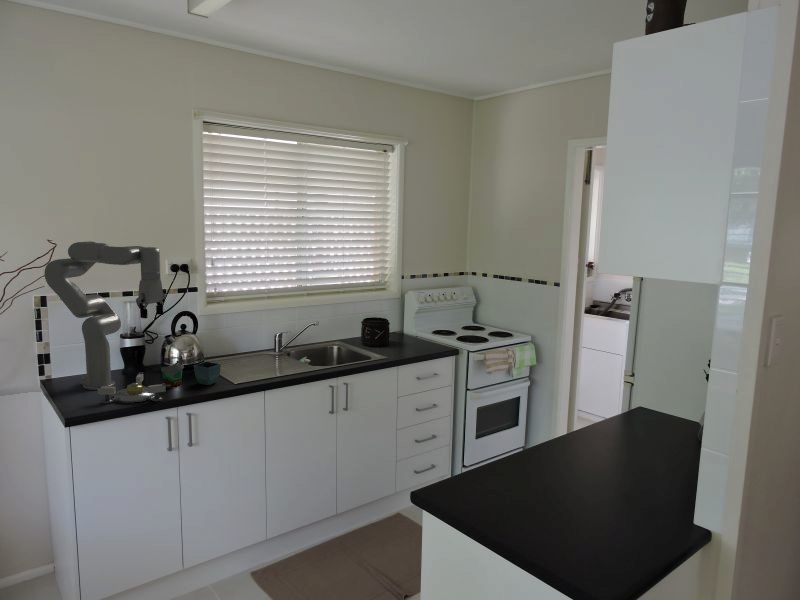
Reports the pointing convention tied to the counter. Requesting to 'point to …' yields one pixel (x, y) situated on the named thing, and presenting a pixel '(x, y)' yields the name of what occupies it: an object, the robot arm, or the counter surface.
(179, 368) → the food container
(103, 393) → the near knob
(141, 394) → the levelling plate
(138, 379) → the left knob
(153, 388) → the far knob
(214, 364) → the flower pot
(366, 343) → the black canister
